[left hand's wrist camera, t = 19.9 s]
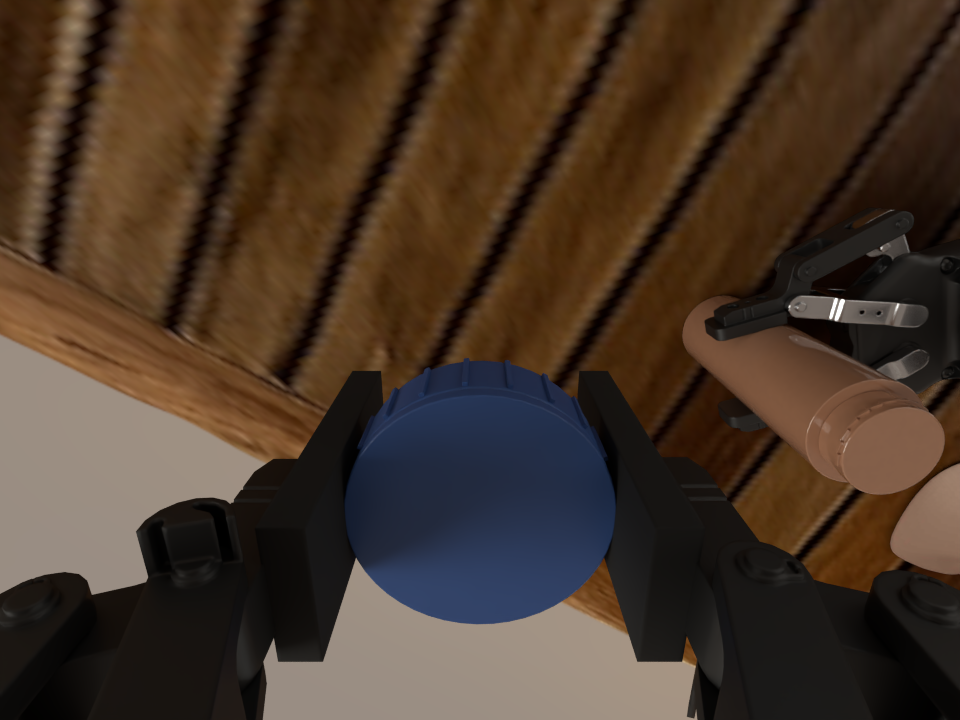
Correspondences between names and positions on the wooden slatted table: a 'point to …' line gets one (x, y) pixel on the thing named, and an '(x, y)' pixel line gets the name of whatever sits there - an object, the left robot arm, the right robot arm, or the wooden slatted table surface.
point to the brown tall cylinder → (823, 403)
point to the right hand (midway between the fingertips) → (718, 374)
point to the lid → (480, 494)
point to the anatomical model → (932, 525)
